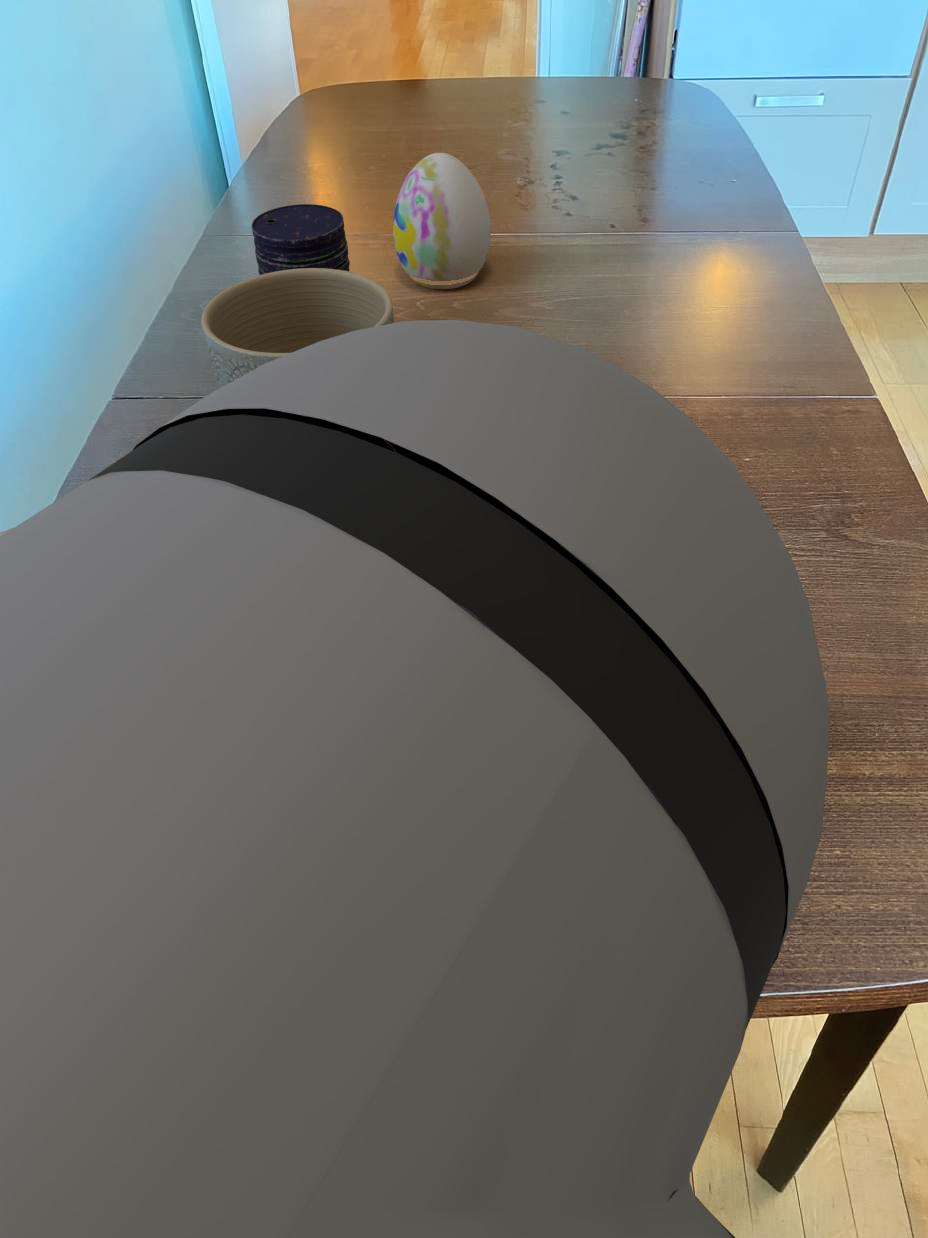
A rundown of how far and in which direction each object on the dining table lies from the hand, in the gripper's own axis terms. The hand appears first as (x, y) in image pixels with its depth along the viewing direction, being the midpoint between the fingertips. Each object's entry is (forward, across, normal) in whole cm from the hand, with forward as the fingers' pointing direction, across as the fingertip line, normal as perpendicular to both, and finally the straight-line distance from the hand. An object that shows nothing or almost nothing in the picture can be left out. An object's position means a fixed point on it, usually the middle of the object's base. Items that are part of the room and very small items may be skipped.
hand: (425, 732), depth 53 cm
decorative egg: (+34, -79, -12) cm, 87 cm away
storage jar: (+13, -67, -12) cm, 69 cm away
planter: (+7, -47, -12) cm, 49 cm away
